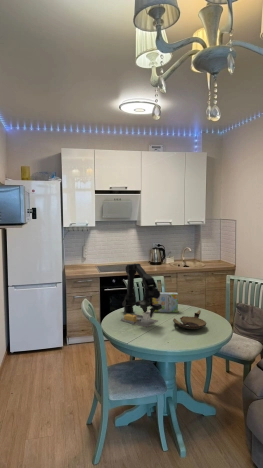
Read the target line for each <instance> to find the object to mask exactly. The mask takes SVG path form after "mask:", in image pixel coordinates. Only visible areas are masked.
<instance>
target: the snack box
mask: <svg viewBox="0 0 263 468" xmlns="http://www.w3.org/2000/svg"><path fill="white" fill-rule="evenodd" d="M159 292H160V291H159ZM153 302H154V303H153V305H155V304H161V305H162V308H161V309H159V310H155V311H154V313H156V312H157V313H179V293H178V292H160V297H159V298H157V299H155V298H153Z"/></svg>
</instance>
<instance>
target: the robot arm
mask: <svg viewBox="0 0 263 468" xmlns="http://www.w3.org/2000/svg"><path fill="white" fill-rule="evenodd" d="M125 273H126V275H127V283H126V285H127V286H126V288H127V289H126V294H125V296H124V300H123V301H122V303H121V305H122V307H123V311H124V313H126V314H132V313H133V314H134V307H136V306H137V307H139V308H141V309H142V311H143V313H144V312H146V311H148V307H150V308H149V310H150V319H152V318H153V317H152V315H153V313H154V314H155V312H154V311H155V310H159V309H161V308H162V305H161V304H155V305H153V303H154V302H153V298H155V299H157V298H159V297H160V290H159V289H158V287H157V283H156V281H155V279H154V277H152V275H150V274H148V273H147V272H146V271H145V269H144V268H143V267H142V265H141V264H140V263H132V264H130V263H129V264H127V265H126V266H125ZM136 274H138V276H139V277H140V278H141V282H142V284H143V285H144V286H143V289H144V296H143V298H142V300H141V299H139V300H137V301H136V298H137V297H136V296H135V294H134V287H135V276H136ZM151 317H152V318H151Z"/></svg>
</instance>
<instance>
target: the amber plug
mask: <svg viewBox="0 0 263 468" xmlns="http://www.w3.org/2000/svg"><path fill="white" fill-rule="evenodd" d="M123 319H125V320H129V321H133V322H136V321H137V316H135V315H133V314H132V313H126V314H124V315H123Z"/></svg>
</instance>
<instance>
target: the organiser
mask: <svg viewBox="0 0 263 468" xmlns="http://www.w3.org/2000/svg"><path fill="white" fill-rule="evenodd" d="M132 315H135V316H137V321H136V322H133V321H129V320H125V319H124V318H121V319H120V322H125V323H128V324H133V325H136V326H141V327H143V328H149V327H150V326H152V325H154V324H155V323H157V322H159V320H157V319H153V318H150V319H148V320H146V319H143V314H142V315H141V314H138V313H133V314H132Z"/></svg>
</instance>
